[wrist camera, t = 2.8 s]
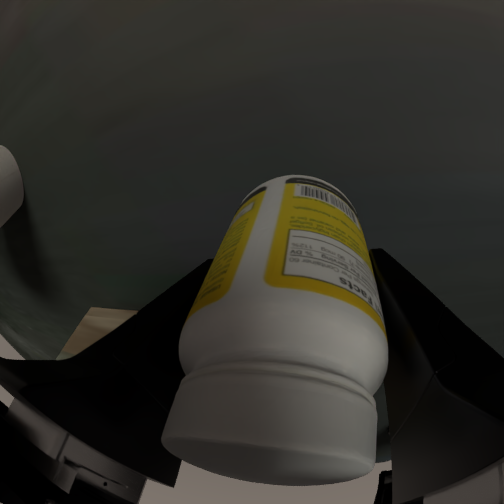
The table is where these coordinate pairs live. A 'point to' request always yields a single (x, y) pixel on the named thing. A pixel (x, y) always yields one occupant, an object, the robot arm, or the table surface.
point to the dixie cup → (9, 186)
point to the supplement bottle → (283, 345)
